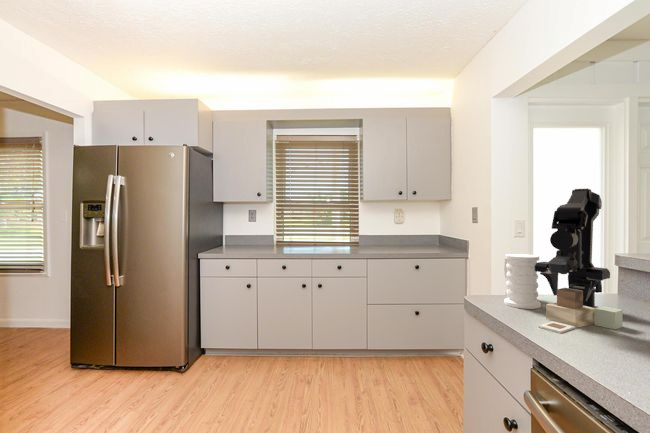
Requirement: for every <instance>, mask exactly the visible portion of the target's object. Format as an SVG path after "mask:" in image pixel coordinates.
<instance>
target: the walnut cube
mask: <svg viewBox="0 0 650 433" xmlns="http://www.w3.org/2000/svg"><path fill="white" fill-rule="evenodd" d="M556 303H557V306H562V307H566V308H571V309H577V308H581V307H583V291H582V290H576V289H570V288H569V287H562V288H558V289H557V295H556Z"/></svg>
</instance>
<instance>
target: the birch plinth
mask: <svg viewBox="0 0 650 433" xmlns="http://www.w3.org/2000/svg"><path fill="white" fill-rule="evenodd" d="M545 319H546V320H548V321H550V322H552V321H554V322H558V323H562V324H567V325H571V326H575V328H574V329H576V328H580V327H586V326H591V325H595V308H592V307H588V306H583V307H581V308H577V309H571V308H566V307H562V306H557V302H552V303H546V304H545Z"/></svg>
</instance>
